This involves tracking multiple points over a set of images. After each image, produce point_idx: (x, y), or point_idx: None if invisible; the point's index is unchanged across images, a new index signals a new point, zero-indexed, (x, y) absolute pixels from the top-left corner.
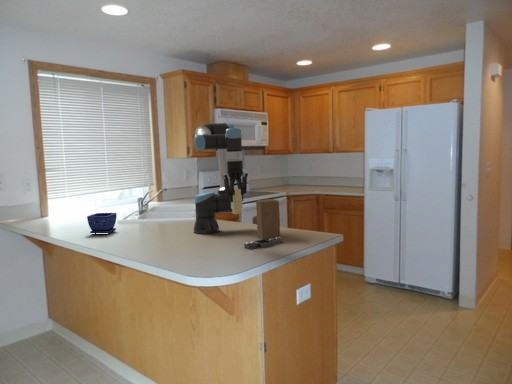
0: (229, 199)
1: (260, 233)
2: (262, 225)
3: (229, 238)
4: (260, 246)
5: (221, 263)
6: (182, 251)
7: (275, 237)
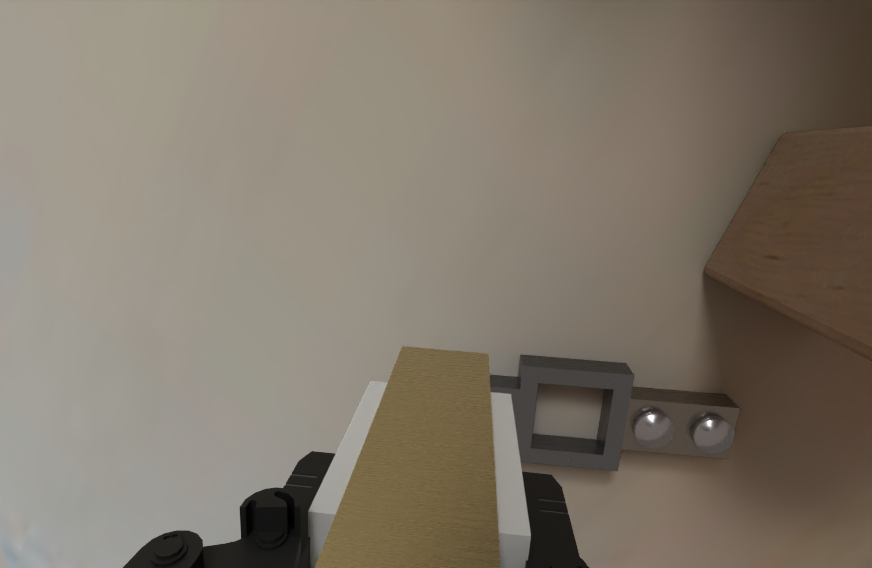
0: (287, 486)
1: (744, 233)
2: (765, 305)
3: (556, 27)
4: None
5: (183, 518)
6: (96, 148)
7: (698, 428)
